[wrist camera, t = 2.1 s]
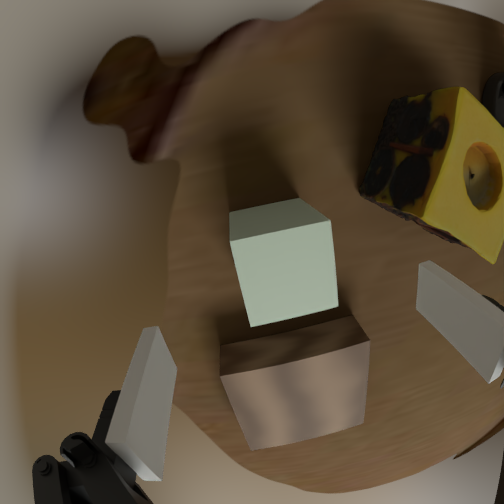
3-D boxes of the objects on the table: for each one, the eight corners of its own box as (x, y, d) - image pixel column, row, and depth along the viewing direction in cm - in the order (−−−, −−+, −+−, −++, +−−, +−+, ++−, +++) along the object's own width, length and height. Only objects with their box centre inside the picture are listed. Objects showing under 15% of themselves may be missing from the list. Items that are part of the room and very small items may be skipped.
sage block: (299, 197, 24) (330, 220, 17) (308, 262, 26) (338, 306, 19) (229, 212, 24) (229, 241, 17) (244, 276, 26) (250, 327, 19)
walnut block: (351, 313, 29) (370, 340, 24) (350, 396, 34) (363, 423, 29) (220, 343, 29) (219, 376, 24) (248, 420, 34) (251, 450, 29)
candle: (429, 232, 26) (494, 269, 17) (354, 196, 25) (417, 225, 15) (459, 146, 23) (530, 157, 14) (389, 97, 22) (461, 82, 12)
